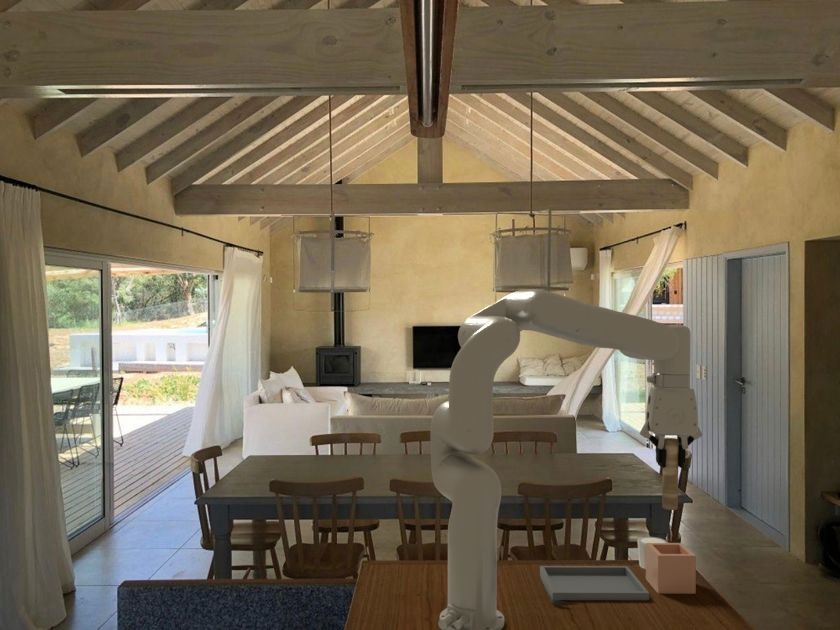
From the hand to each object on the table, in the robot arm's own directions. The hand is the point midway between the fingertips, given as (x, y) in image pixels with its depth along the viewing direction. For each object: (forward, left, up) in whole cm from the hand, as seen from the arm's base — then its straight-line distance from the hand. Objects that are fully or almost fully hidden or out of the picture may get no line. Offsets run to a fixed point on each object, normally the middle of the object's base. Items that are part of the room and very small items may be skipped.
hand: (670, 465), depth 153 cm
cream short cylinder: (+10, +6, -28) cm, 30 cm away
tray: (-9, +14, -27) cm, 32 cm away
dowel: (0, 0, -9) cm, 9 cm away
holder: (0, 0, -27) cm, 27 cm away
